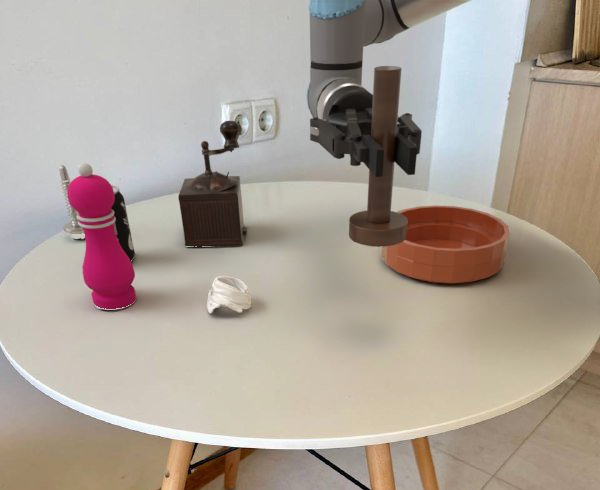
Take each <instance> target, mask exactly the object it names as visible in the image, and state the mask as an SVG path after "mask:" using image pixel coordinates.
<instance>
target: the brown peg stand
mask: <svg viewBox="0 0 600 490" xmlns="http://www.w3.org/2000/svg"><path fill="white" fill-rule="evenodd" d="M401 80H402V67H401V66H397V65H381V66H376V67H374V70H373V85H372V86H373V87H372V88H373V89H372V95H373V104H372V124H371V137H372V138H373V139H374V140H375V141H376V142H377V143H378V144H379V145H380V146H381V147H382V148H383V149H384V161H383V177H375V176H374V175H373V173H372V172H371V171H370V170H369V169H368V184H367V185H368V186H367V204H366V205H367V206H366V210H362V211H358V212H355V213H354V214H353V213H352V215H350V217H349V218H348V238H349V239H350V240H351V241H352V242H354V243H356V244H359V245H363V246H367V247H379V248H380V247H381V248H383V246H392V245H396V244H399V243H401V242H403V241H404V240H405V239H406V236H407V225H408V220H407V218H406V217H405V216H404V215H402V214H400V213H397V212H398V211H394V210H393V211H392V200H393V188H394V186H393V185H394V176H395V175H394V173H395V148H396V135H397V122H398V116H399V108H400V107H399V106H400V93H401V82H402V81H401Z"/></svg>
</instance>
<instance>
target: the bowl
mask: <svg viewBox="0 0 600 490" xmlns="http://www.w3.org/2000/svg"><path fill="white" fill-rule="evenodd" d="M396 212H397V213H400V214H402V215H404V216H405V217H406V218H407V220H408V225H407V236H406V239H405V240H404V241H403V242H401V243H399V244H396V245H392V246H383V247H381V249H382V251H381V258H382V259H383V261H384V263H385V265H387V266H388V267H390V268H391V269H392V270H394V271H395V272H397V273H399V274H402V275H404V276H407V277H409V278H412V279H415V280H418V281H422V282H427V283H436V284H464V283H471V282H476V281H479V280H484V279H488V278H489V277H492V276H494V275H495V274H497V273H499V272H500V270H501V269H502V268H503V266H504V265H505V261H506V255H507V251H508V246H509V241H510V236H511V232H510V228H509V227H510V226H509V224H508V225H507V223H506V222H505V221H503V220H502V218H499V217H497V216H495V215H492V214H491V213H488V212H484V211H481V210H478V209H474V208H470V207H469V208H468V207H463V206H455V205H422V206H415V207H409V208H405V209H402V210H399V211H396Z"/></svg>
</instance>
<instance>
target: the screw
mask: <svg viewBox="0 0 600 490" xmlns="http://www.w3.org/2000/svg"><path fill="white" fill-rule="evenodd" d="M58 170H59V175H60V180H61V181H60V183H61V185H60V186H61V187H62V188H61V189H62V190H63V191H62V193H63V197H64V200H65V203H66V205H65V206H66V207H67V209H66V210H68V212H67V213H68V216H69V220H70V222H67V223H66V224H64V226H63V228H62V229H63V231H64V232H65V233H68V234H70V235H71V234H82V233H84V231H83V228H82V227H81V226H79V225H78V219H77V217H76V216H77V214H78V212H77V211H76V210H75V209H73V208H72V206H71V205H70V203H69V200H68V195H67V192H68V186H69V184H70V183H71V181H72V180H71V178H70V176H69V173H68V170H67V167H66V165H64V164H61V165H59V169H58Z"/></svg>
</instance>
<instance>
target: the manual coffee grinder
mask: <svg viewBox="0 0 600 490" xmlns="http://www.w3.org/2000/svg"><path fill="white" fill-rule="evenodd" d="M242 131H243V128H242V125H241V123H239V122H238V121H235V120H225V121H223V122H222V123H221V124H220V127H219V132H220V134H221V136H222V137H223V139H224V145H223V148H218V149H209V146H210V145H209V142H208V141H207V140H203V141H201V143H200V147H201V155H202V156H203V159H204V167H205V169H204V170H205V171H204V172H203V173H201V174H198V175H197V176H195V177H191V178H184V180H183V182H182V186H181V188H180V190H179V193H178V202H179V209H180V217H181V223H182V230H183V238H184V247H185V246H194V247H195V246H197V247H202V246H215V247H214V248H218V247H217V246H231V247H240V246H239V245H242V246H243V245H244V243H245V242H244V241H245V238H246V235H247V234H248V228H247V227H246V225H245V223H244V209H243V208H244V207H243V198H242V197H243V196H242V187H241V177H240V175H229V174H230V171H227V174H224V173H221V172H218V171H213V169H212V167H211V160H210V157H211V156H217V155H222V154H225V153H227V152H230V153H232V152H233V151H234V150H236V149H239V148H240V145H239V142H238V139H239V138H240V136H241V134H242ZM202 248H203V247H202Z"/></svg>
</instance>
